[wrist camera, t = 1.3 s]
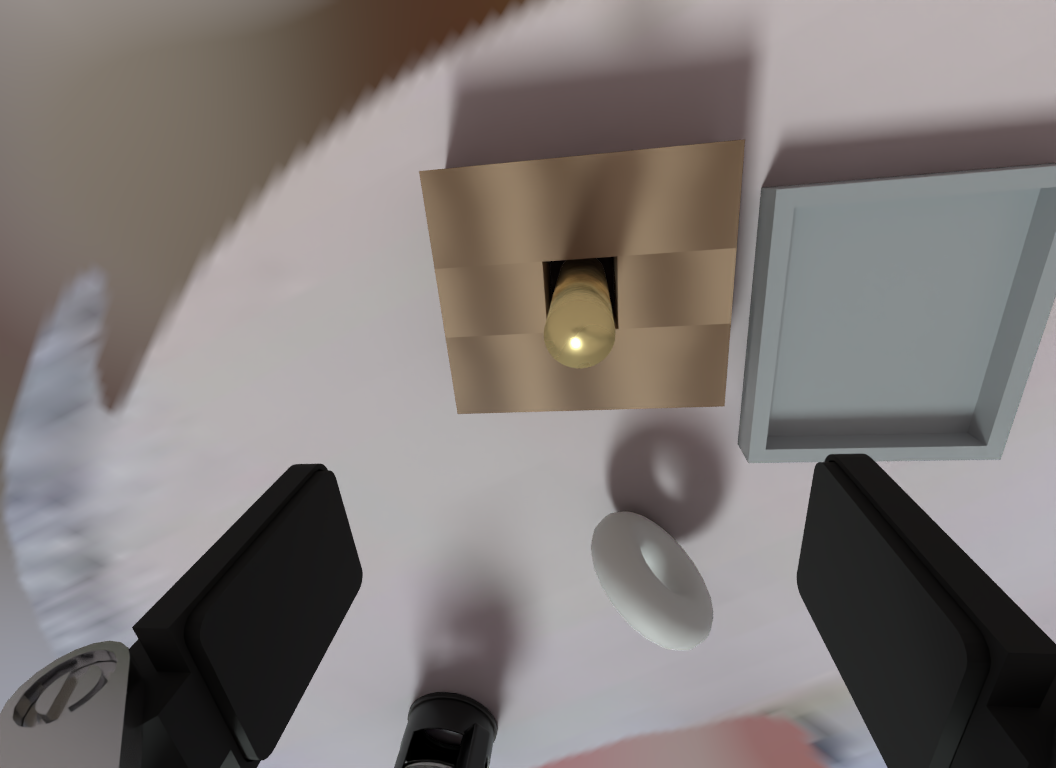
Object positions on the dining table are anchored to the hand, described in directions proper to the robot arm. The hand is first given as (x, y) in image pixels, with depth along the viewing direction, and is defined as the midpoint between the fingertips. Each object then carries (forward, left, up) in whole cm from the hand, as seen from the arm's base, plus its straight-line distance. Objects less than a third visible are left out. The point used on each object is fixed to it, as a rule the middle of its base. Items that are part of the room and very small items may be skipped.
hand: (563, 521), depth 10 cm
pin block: (0, 0, -24) cm, 24 cm away
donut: (-4, +20, -24) cm, 32 cm away
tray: (-18, +4, -24) cm, 30 cm away
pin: (0, 0, -24) cm, 24 cm away
